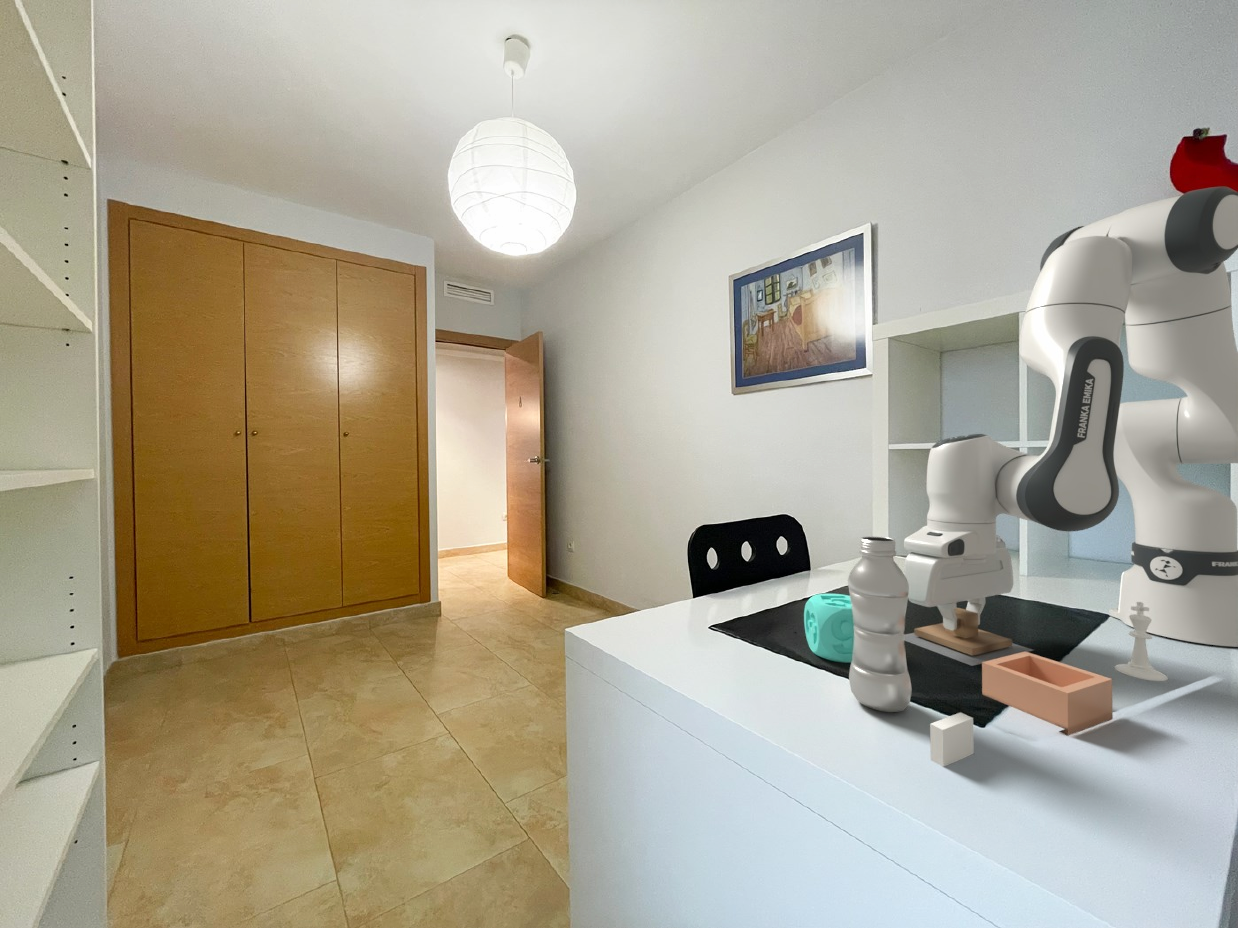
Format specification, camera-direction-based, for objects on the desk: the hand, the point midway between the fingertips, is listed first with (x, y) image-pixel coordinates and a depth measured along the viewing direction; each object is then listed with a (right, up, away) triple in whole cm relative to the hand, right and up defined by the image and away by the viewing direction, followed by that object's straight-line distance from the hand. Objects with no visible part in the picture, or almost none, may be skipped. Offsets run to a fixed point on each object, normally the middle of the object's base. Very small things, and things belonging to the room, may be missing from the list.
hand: (961, 626), depth 75 cm
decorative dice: (-20, -4, -2) cm, 20 cm away
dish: (-4, -3, -19) cm, 19 cm away
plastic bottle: (-22, -4, -18) cm, 29 cm away
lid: (0, -2, 0) cm, 2 cm away
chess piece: (+16, -3, -11) cm, 20 cm away
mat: (0, -3, 0) cm, 3 cm away
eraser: (-21, -4, -28) cm, 35 cm away
